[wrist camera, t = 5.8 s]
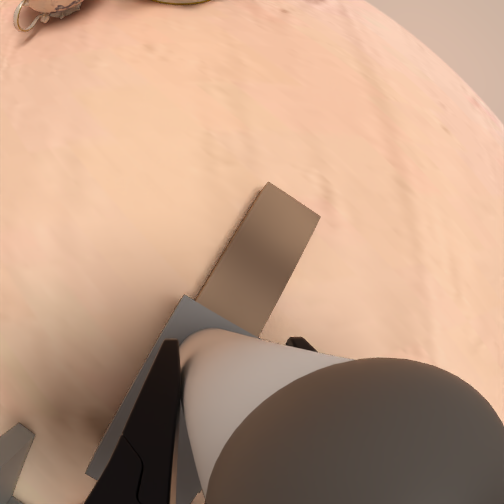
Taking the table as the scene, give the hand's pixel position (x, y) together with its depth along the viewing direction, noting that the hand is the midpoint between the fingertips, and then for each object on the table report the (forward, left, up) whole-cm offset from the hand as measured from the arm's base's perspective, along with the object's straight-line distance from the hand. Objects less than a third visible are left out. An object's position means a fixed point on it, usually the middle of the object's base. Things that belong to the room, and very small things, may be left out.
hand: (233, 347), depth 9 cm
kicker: (-4, -1, -8) cm, 9 cm away
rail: (+4, -1, -8) cm, 9 cm away
